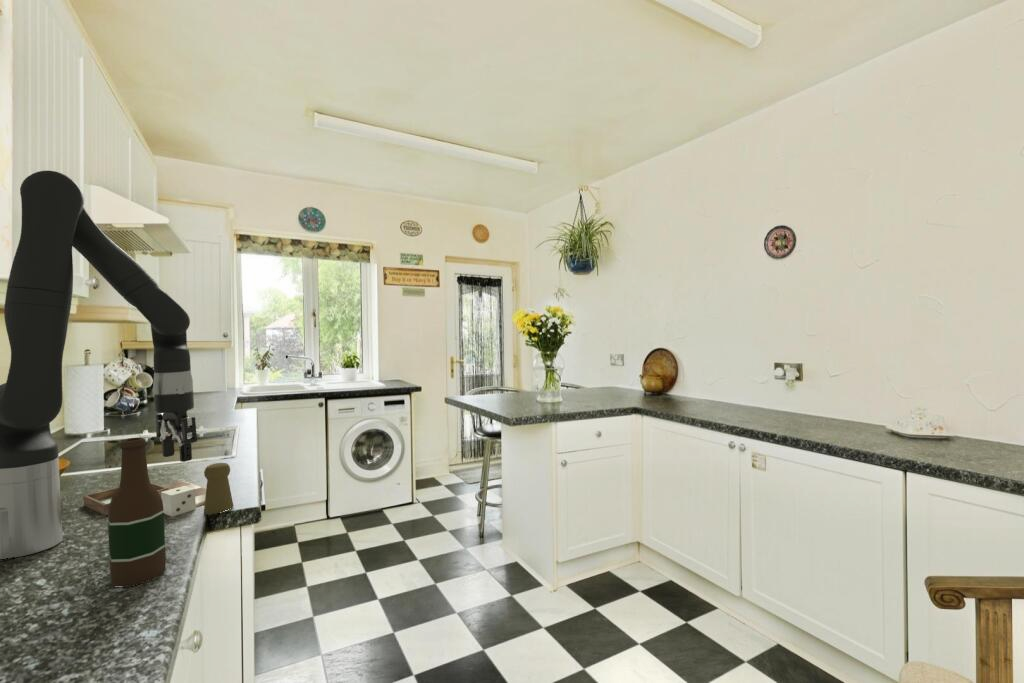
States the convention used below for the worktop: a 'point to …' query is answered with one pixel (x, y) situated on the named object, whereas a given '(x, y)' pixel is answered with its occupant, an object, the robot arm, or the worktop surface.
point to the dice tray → (108, 498)
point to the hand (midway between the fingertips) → (177, 458)
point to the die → (178, 500)
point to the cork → (217, 489)
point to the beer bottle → (135, 521)
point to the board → (199, 491)
